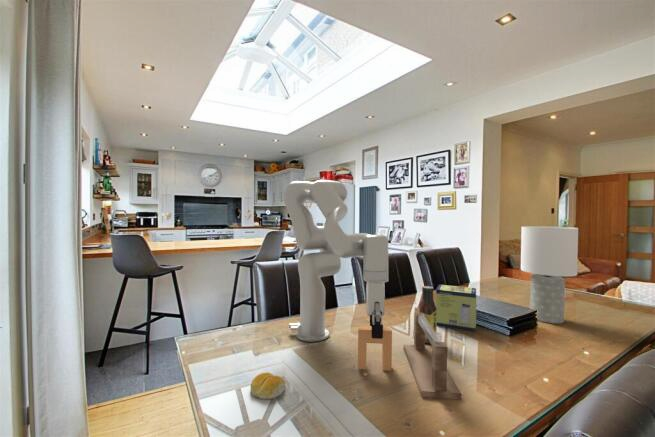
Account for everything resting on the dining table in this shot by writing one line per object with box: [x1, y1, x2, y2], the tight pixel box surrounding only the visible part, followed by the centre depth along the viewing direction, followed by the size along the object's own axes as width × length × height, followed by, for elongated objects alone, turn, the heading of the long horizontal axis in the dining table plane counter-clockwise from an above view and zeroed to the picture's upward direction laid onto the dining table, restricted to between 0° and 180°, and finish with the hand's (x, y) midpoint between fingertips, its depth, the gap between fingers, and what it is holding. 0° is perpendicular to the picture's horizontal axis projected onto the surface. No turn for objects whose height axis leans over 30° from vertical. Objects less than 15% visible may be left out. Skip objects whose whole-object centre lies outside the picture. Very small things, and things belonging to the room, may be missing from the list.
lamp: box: [520, 225, 579, 325], centre depth 138 cm, size 21×21×42 cm
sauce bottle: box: [418, 285, 438, 344], centre depth 114 cm, size 7×6×20 cm
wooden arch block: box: [357, 325, 393, 372], centre depth 94 cm, size 10×3×12 cm, turn 85°
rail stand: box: [403, 312, 462, 400], centre depth 92 cm, size 10×28×13 cm, turn 175°
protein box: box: [435, 284, 477, 333], centre depth 130 cm, size 10×16×16 cm
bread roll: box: [250, 372, 286, 400], centre depth 81 cm, size 8×9×4 cm
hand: (376, 331), depth 93 cm, fingers open, 9 cm apart
